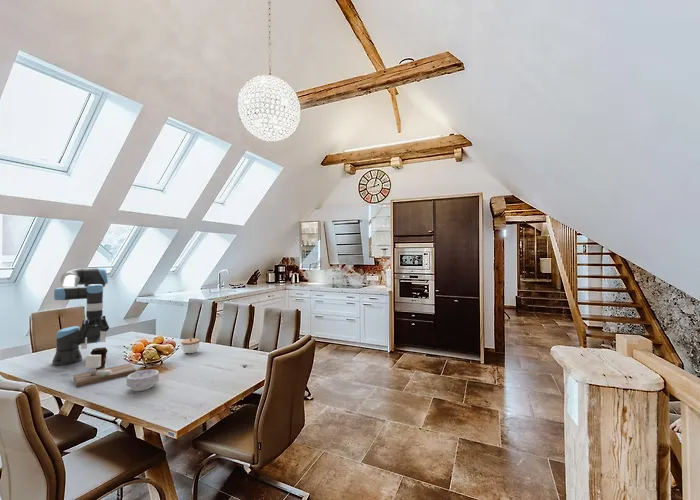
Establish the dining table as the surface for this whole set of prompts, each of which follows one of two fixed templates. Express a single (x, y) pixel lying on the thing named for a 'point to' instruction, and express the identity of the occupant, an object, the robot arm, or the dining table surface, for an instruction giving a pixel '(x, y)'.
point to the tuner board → (103, 375)
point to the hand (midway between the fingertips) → (93, 345)
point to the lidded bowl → (190, 345)
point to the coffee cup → (103, 355)
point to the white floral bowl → (142, 379)
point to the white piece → (94, 364)
